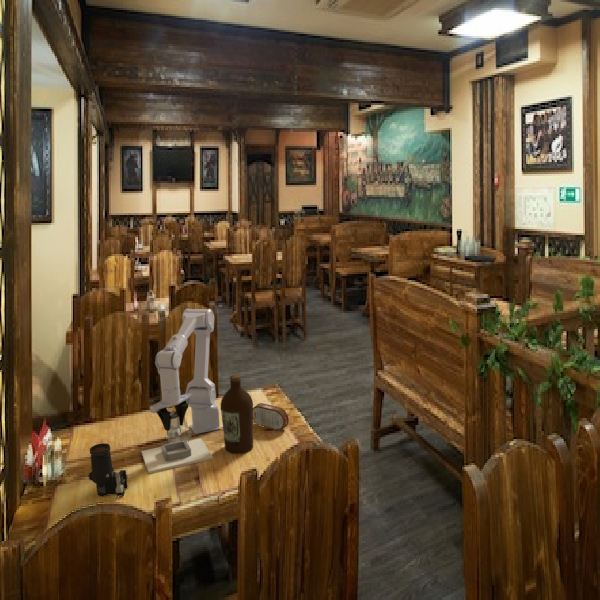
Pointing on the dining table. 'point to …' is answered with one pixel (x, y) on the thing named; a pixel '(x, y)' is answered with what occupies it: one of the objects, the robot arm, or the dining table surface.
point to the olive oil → (237, 418)
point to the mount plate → (175, 455)
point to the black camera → (106, 472)
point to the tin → (270, 416)
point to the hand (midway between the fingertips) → (173, 427)
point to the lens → (174, 424)
